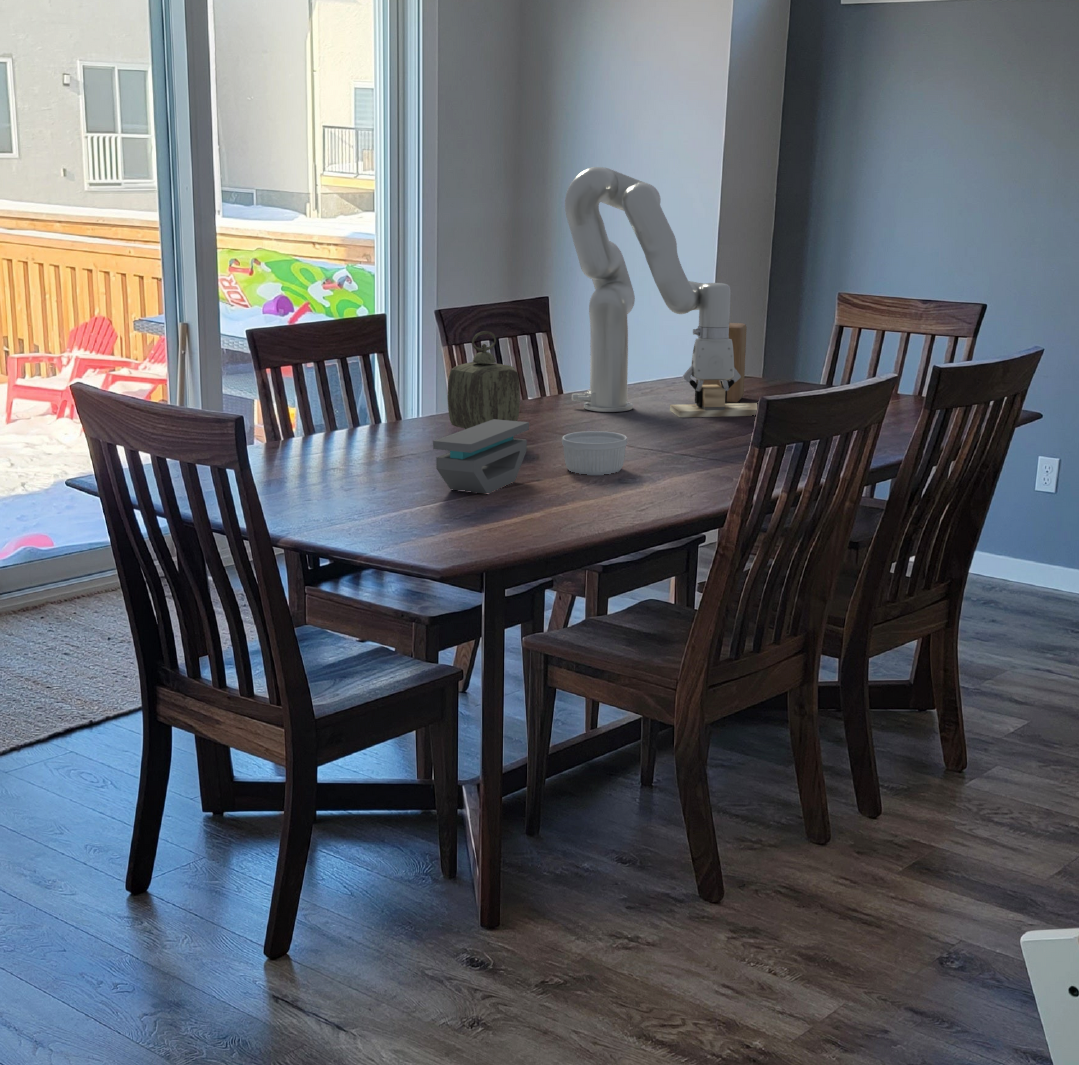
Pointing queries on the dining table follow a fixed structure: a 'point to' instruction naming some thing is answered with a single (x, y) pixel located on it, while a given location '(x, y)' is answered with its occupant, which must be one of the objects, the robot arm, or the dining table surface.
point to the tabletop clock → (483, 390)
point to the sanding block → (713, 397)
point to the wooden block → (735, 362)
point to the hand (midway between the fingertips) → (710, 405)
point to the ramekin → (594, 452)
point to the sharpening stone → (482, 456)
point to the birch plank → (730, 410)
